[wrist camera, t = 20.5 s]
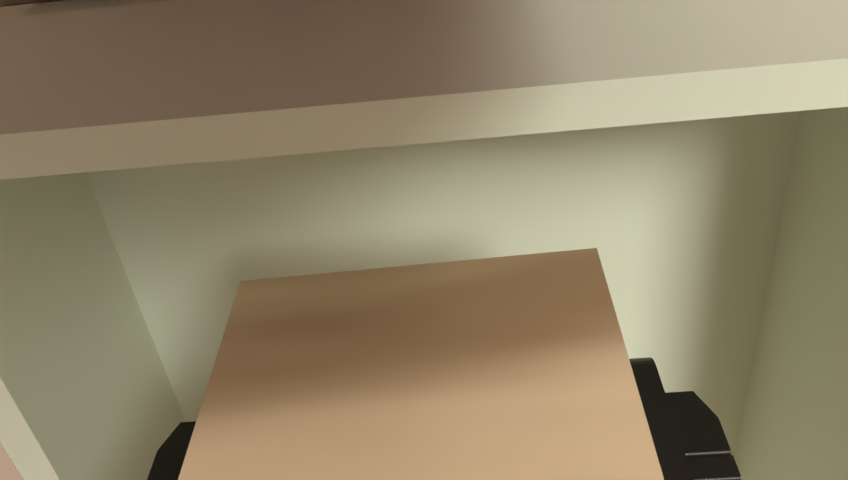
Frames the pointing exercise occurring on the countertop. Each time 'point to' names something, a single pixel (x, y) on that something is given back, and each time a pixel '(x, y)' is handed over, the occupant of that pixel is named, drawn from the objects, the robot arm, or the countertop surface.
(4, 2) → the countertop surface
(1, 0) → the countertop surface
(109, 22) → the tote
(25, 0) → the countertop surface
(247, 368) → the maple block
